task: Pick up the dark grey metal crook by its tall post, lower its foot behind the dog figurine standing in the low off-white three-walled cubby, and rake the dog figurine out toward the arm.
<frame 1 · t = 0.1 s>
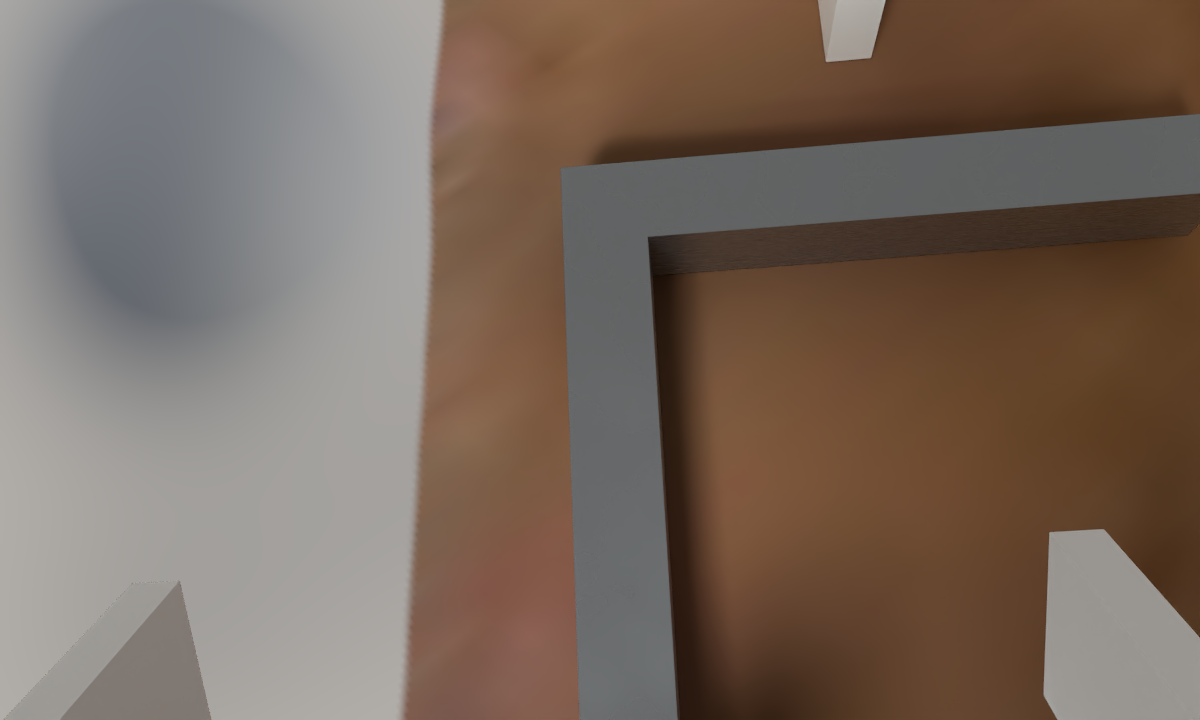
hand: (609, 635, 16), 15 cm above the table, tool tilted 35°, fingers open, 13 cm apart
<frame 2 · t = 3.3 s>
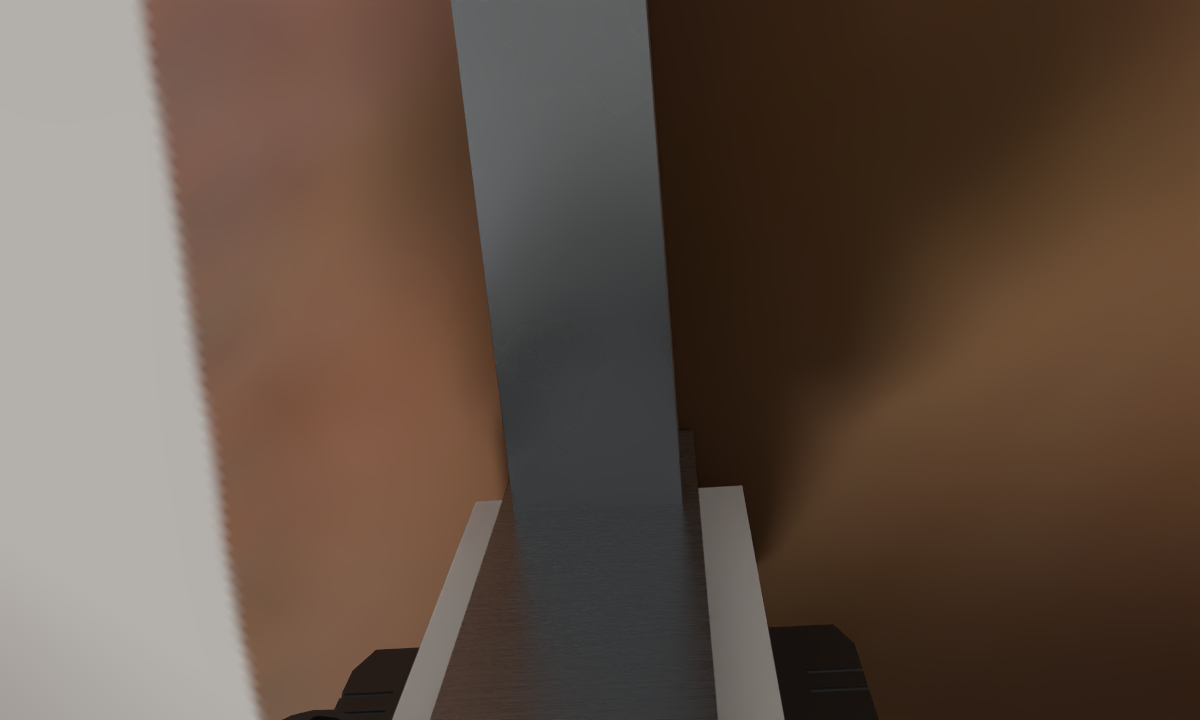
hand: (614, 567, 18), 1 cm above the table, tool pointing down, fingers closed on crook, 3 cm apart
crook: (616, 538, 19), on the table, touching gripper
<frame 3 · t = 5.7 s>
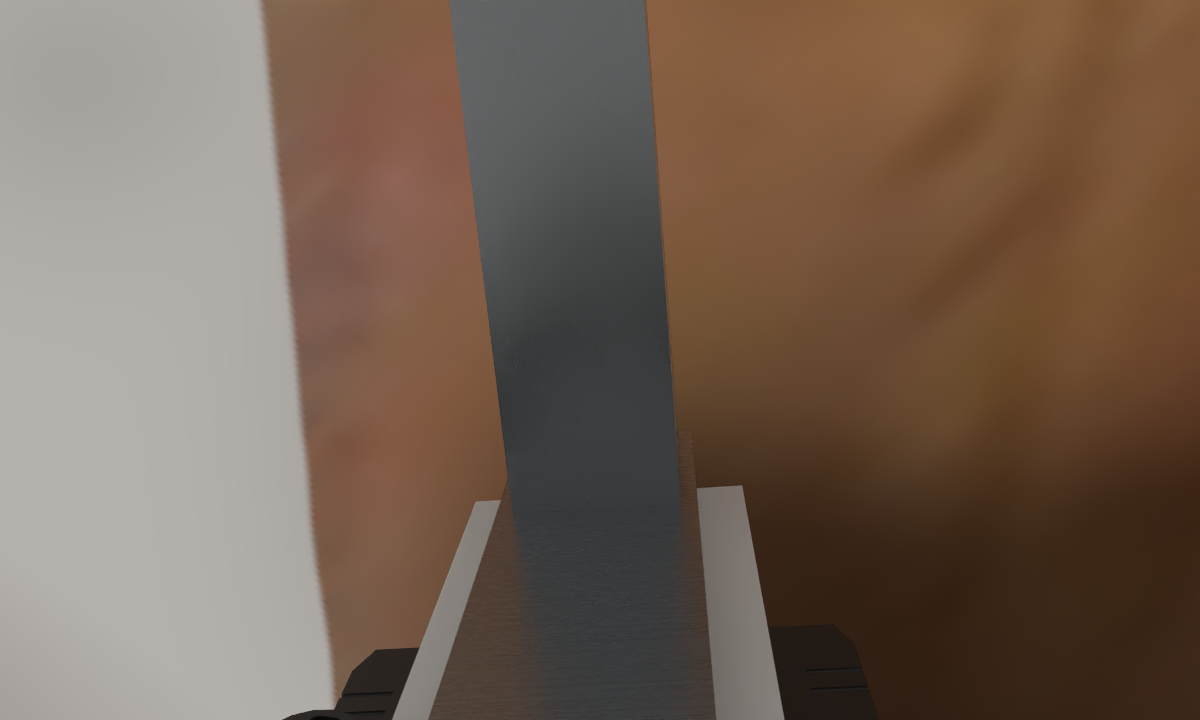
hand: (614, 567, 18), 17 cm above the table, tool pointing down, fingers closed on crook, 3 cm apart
crook: (615, 538, 19), point 16 cm above the table, touching gripper
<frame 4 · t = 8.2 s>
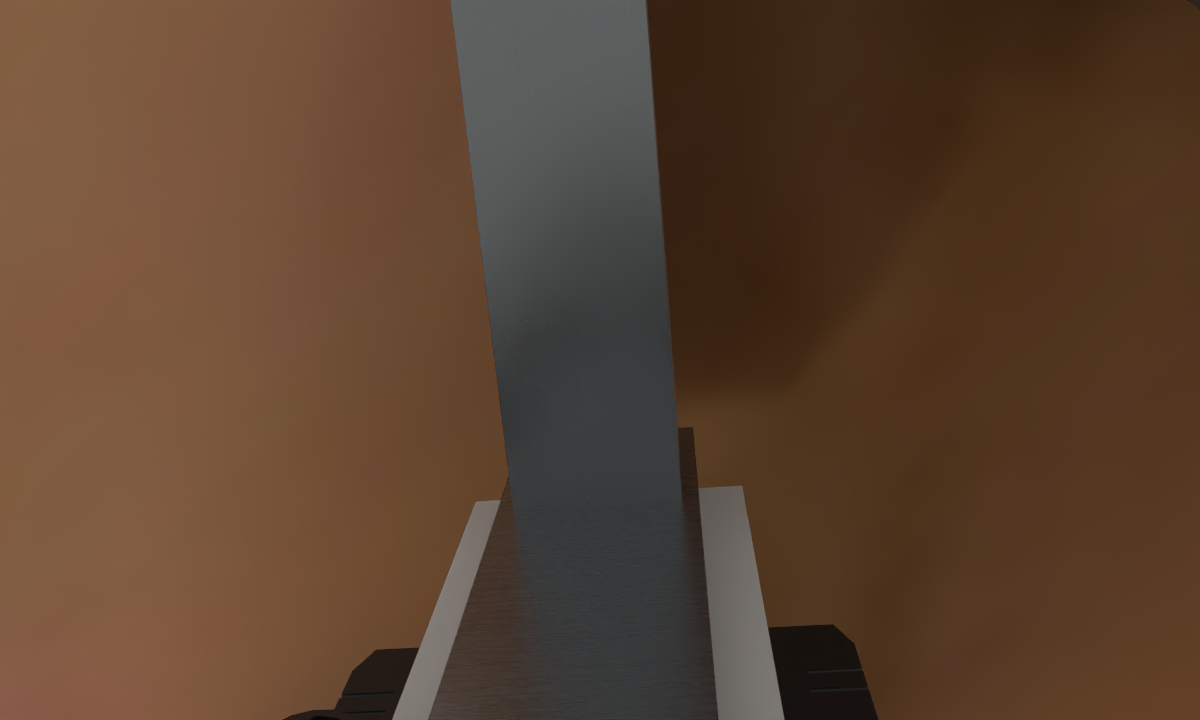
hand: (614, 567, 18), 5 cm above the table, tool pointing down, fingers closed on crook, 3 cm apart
crook: (616, 536, 19), point 4 cm above the table, touching gripper
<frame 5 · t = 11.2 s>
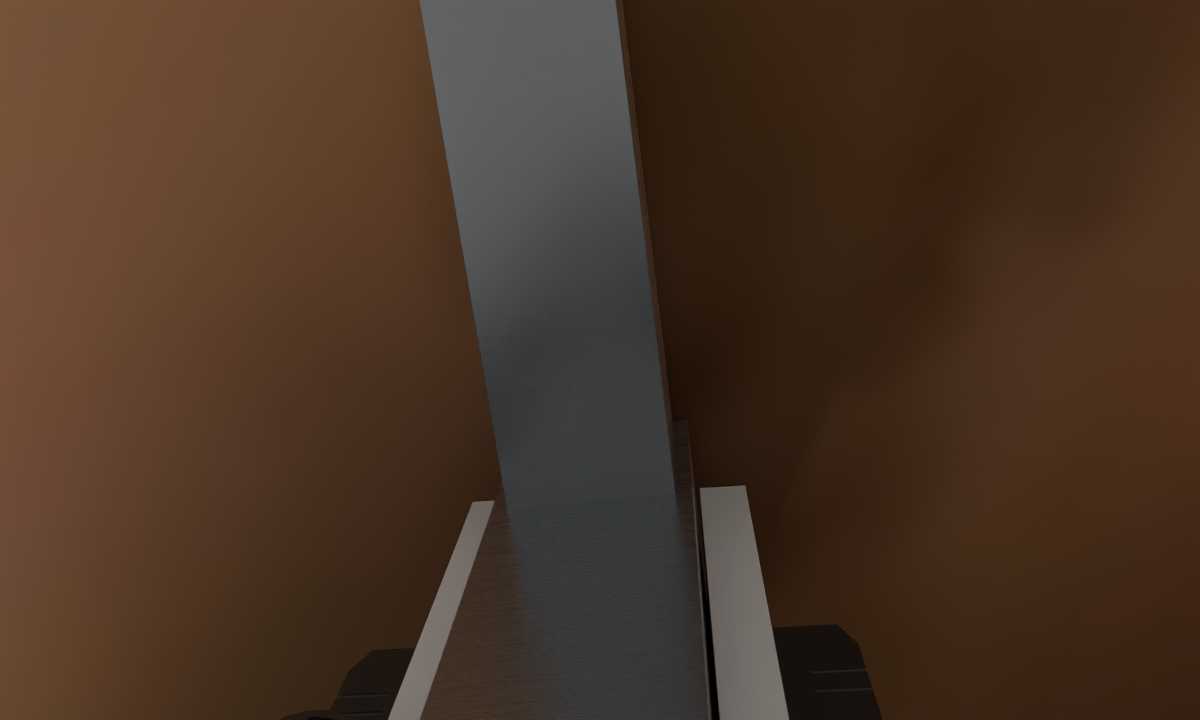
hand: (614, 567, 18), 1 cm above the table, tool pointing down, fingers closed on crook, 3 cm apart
crook: (615, 532, 19), on the table, touching dog figurine, gripper
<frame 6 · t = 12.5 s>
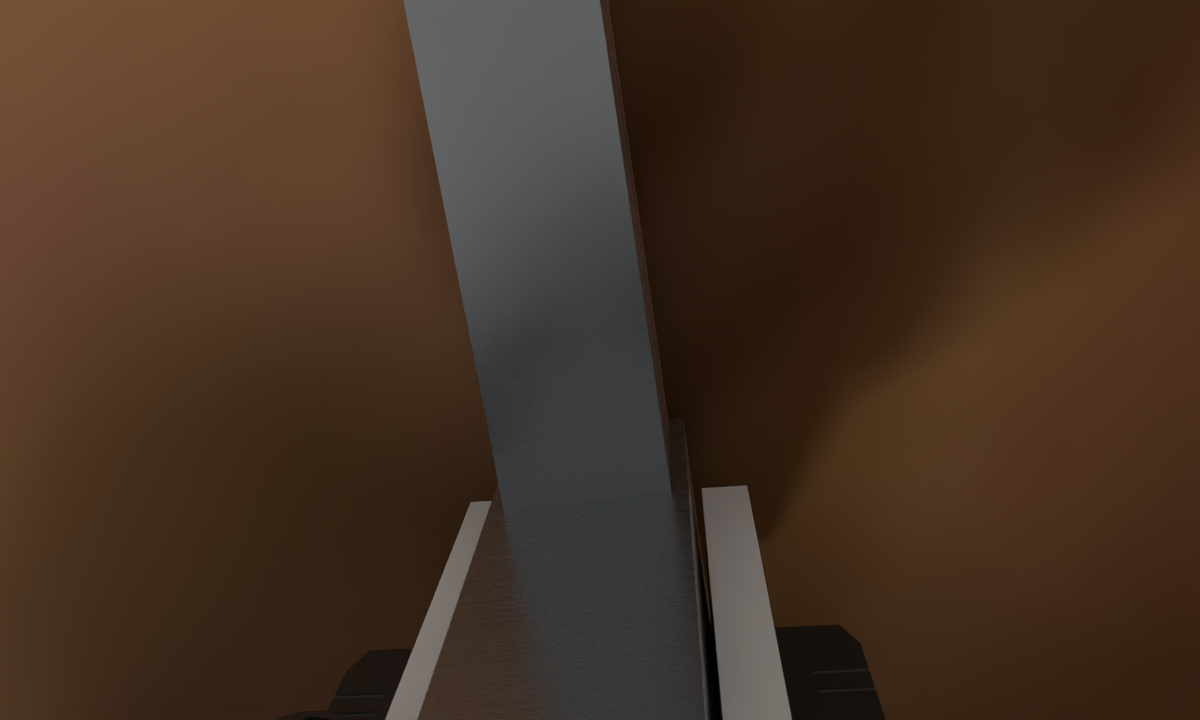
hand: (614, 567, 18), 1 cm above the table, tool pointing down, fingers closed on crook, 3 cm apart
crook: (614, 531, 19), on the table, touching dog figurine, gripper
when the fingers open (2 cm above the table, at t = 13.3 s): crook stays where it is, on the table.
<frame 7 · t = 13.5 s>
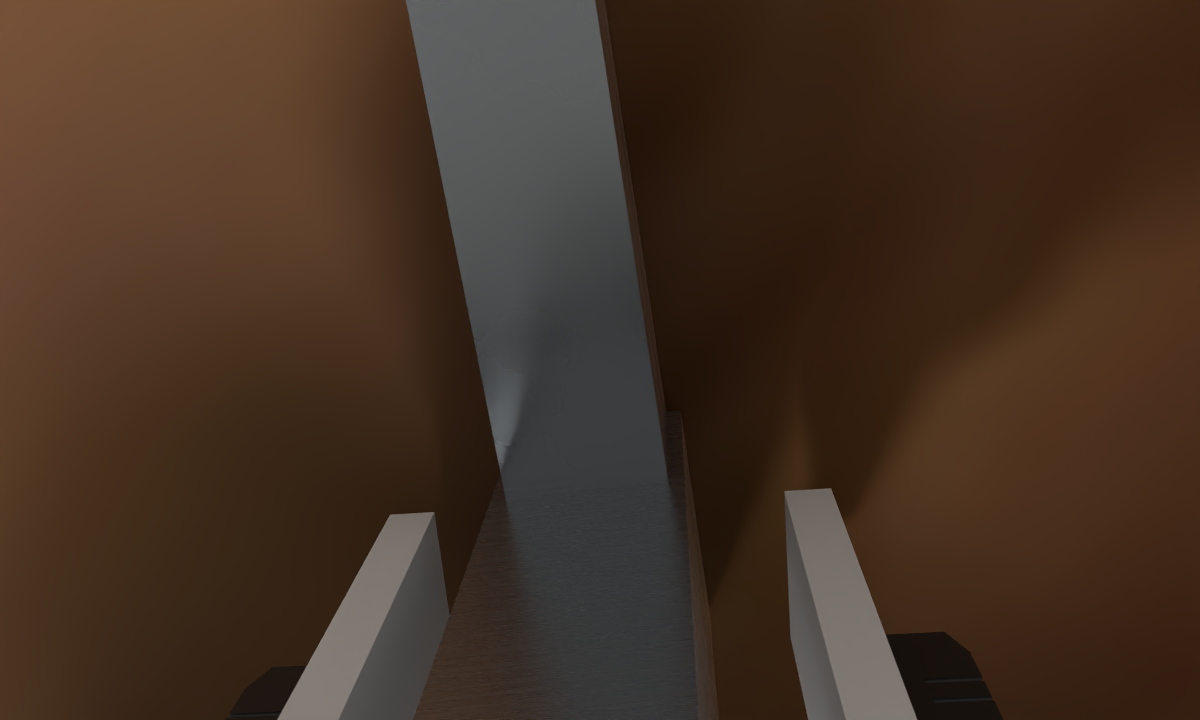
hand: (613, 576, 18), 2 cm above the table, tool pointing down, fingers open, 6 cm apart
crook: (614, 521, 20), on the table
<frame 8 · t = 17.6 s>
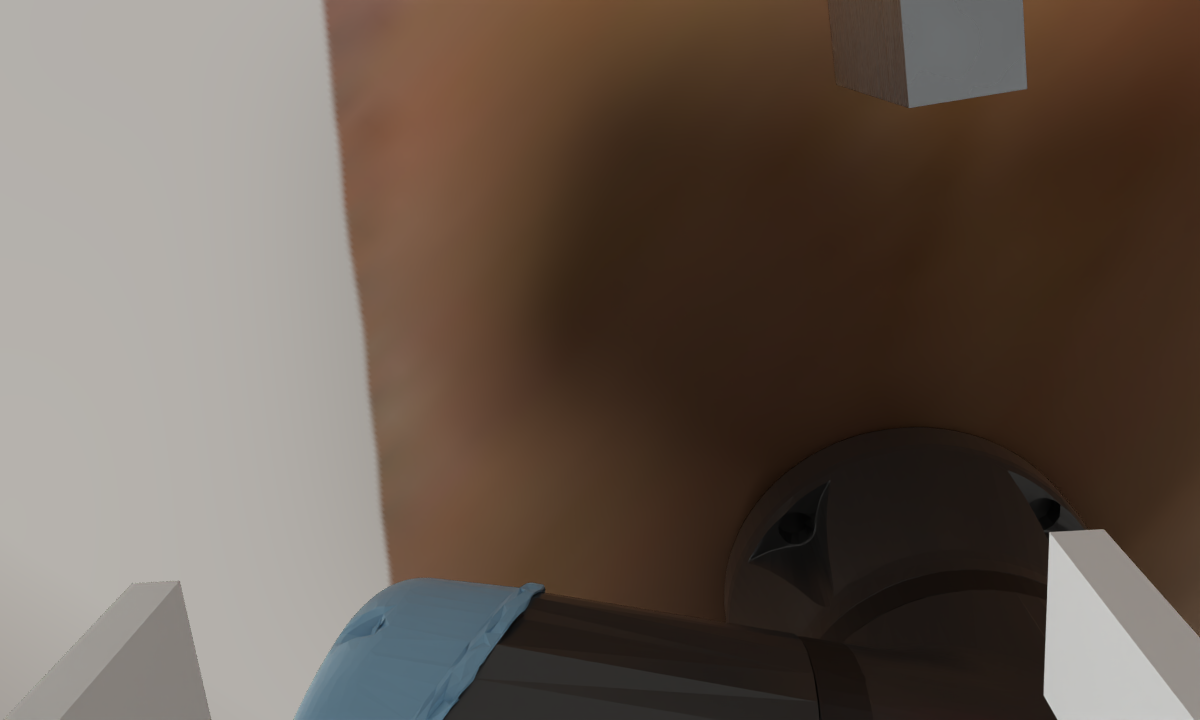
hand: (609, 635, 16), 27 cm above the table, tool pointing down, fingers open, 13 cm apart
crook: (872, 20, 39), on the table
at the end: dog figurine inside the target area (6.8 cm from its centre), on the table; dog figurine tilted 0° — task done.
